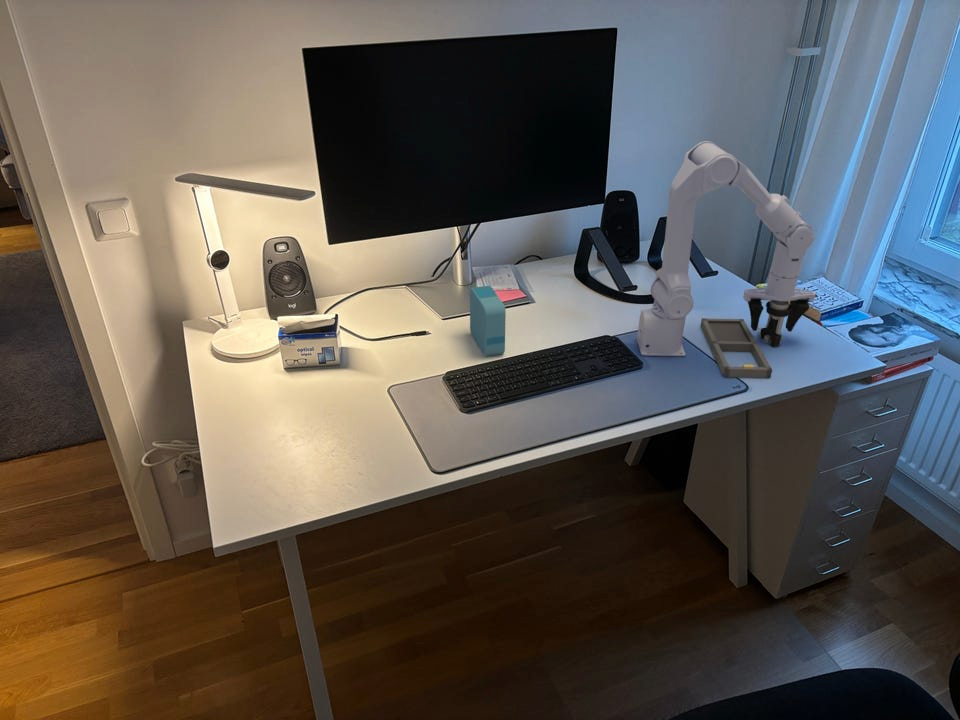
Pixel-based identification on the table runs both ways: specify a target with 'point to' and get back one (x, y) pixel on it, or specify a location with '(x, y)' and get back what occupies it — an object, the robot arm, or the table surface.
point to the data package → (487, 320)
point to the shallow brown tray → (734, 347)
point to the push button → (775, 322)
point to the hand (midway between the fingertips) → (771, 329)
